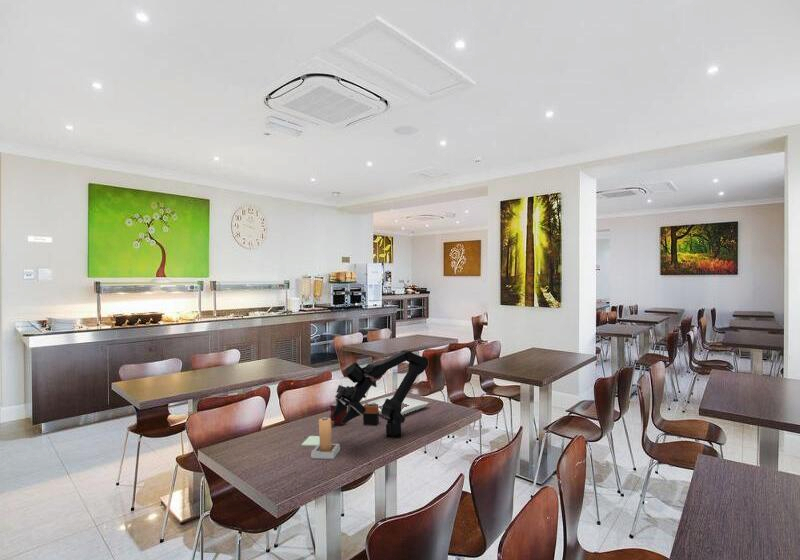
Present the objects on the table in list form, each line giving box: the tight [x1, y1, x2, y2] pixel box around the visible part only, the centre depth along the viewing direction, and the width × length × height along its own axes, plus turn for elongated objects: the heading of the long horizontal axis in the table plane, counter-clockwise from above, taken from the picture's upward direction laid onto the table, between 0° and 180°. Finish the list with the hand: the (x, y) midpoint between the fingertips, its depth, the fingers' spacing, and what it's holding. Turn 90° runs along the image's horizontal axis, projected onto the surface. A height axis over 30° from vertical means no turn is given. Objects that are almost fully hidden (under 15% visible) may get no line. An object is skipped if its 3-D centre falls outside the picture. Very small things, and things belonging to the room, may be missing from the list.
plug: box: [318, 416, 333, 451], centre depth 173 cm, size 5×5×15 cm
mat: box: [301, 435, 320, 447], centre depth 187 cm, size 10×10×1 cm
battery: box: [362, 402, 380, 426], centre depth 208 cm, size 4×7×10 cm, turn 78°
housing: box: [310, 443, 341, 460], centre depth 173 cm, size 9×9×2 cm
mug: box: [329, 401, 348, 426], centre depth 208 cm, size 11×8×10 cm
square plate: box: [362, 394, 429, 416], centre depth 229 cm, size 27×27×4 cm
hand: (337, 420), depth 176 cm, fingers open, 9 cm apart
